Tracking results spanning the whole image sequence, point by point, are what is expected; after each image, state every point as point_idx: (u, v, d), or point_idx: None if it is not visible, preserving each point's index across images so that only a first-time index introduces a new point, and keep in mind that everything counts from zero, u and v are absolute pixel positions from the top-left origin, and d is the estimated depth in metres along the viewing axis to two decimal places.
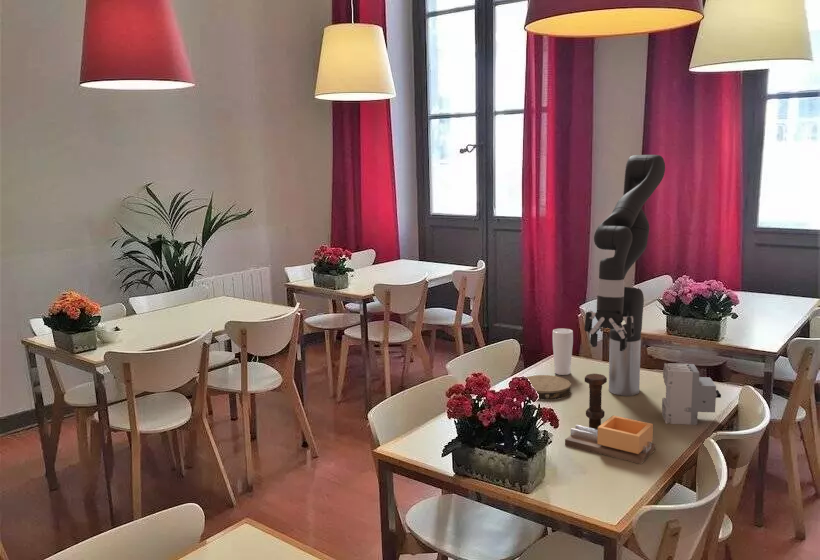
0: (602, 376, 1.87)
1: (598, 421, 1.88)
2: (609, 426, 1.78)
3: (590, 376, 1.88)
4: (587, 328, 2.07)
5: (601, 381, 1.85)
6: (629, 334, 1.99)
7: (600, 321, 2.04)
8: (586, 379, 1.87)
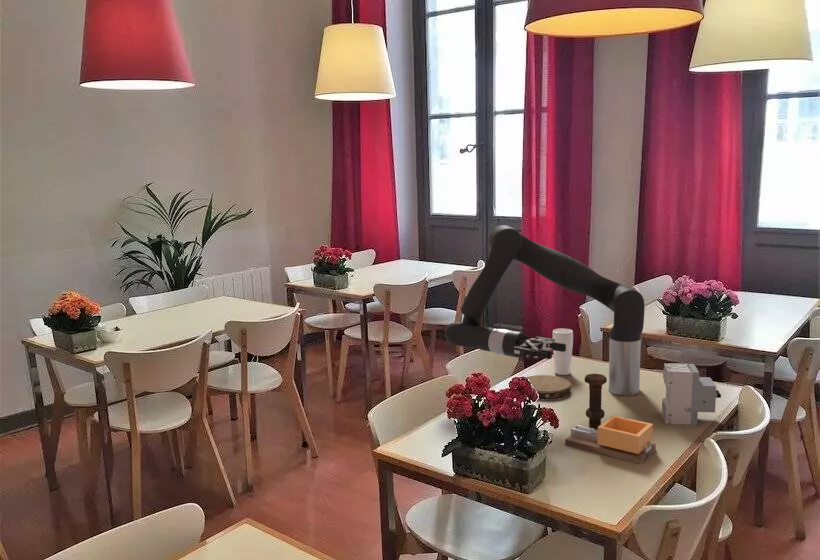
0: (602, 376, 1.87)
1: (598, 421, 1.88)
2: (609, 426, 1.78)
3: (590, 376, 1.88)
4: None
5: (601, 381, 1.85)
6: None
7: None
8: (586, 379, 1.87)
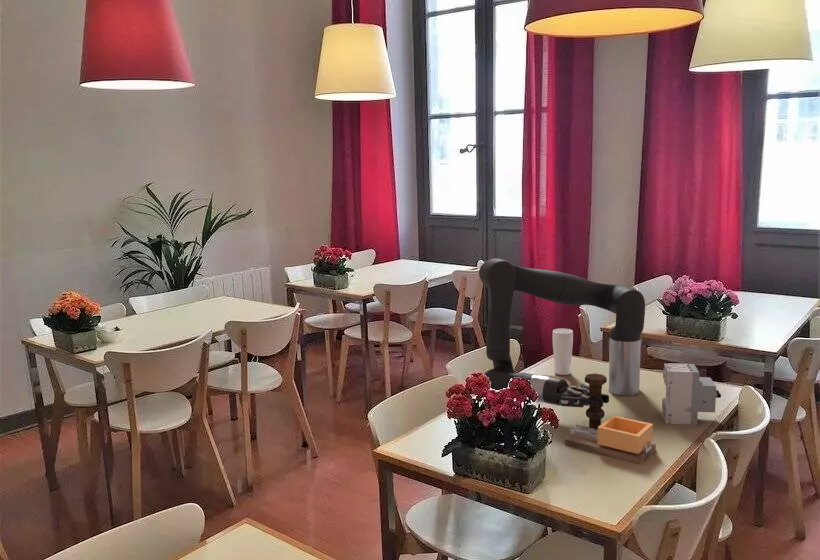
0: (602, 376, 1.87)
1: (598, 421, 1.88)
2: (609, 426, 1.78)
3: (591, 376, 1.88)
4: None
5: (601, 381, 1.85)
6: None
7: None
8: (586, 379, 1.87)
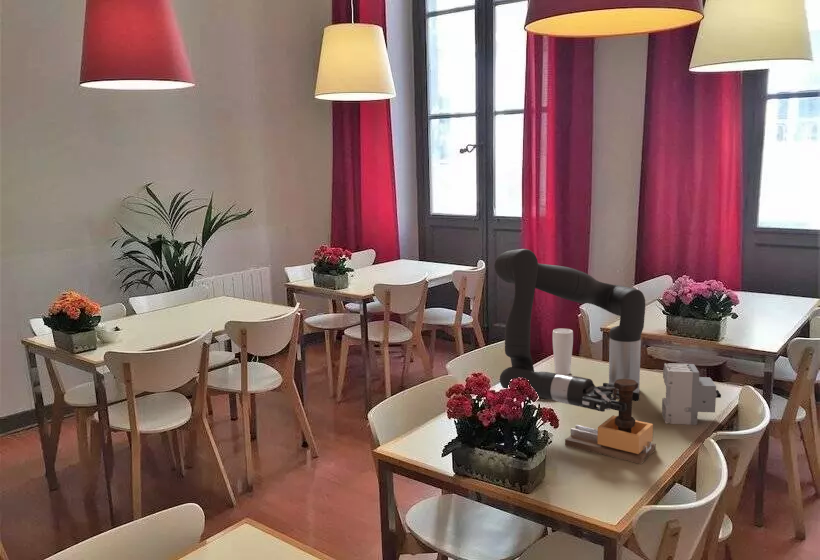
0: (633, 381, 1.72)
1: (628, 430, 1.74)
2: (609, 426, 1.78)
3: (620, 381, 1.73)
4: None
5: (632, 387, 1.70)
6: None
7: None
8: (616, 384, 1.72)
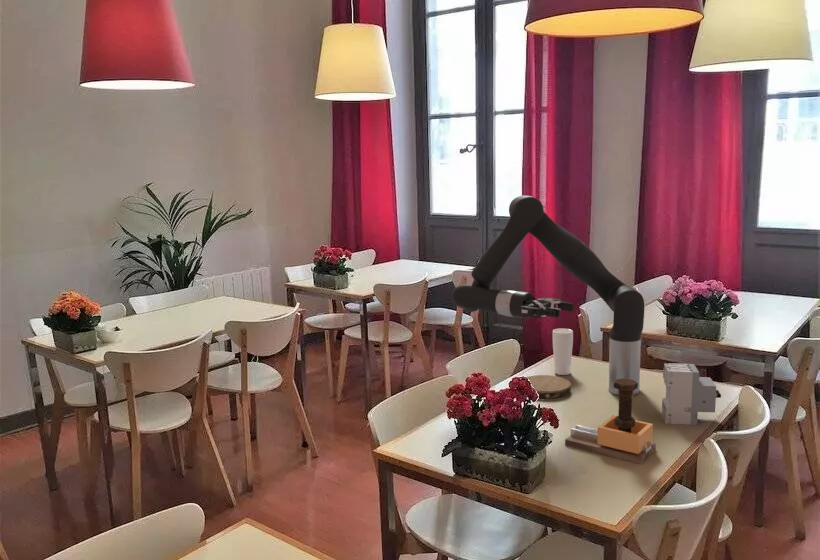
0: (633, 381, 1.73)
1: (628, 430, 1.74)
2: (609, 426, 1.78)
3: (620, 381, 1.73)
4: None
5: (632, 387, 1.70)
6: None
7: None
8: (615, 384, 1.72)
